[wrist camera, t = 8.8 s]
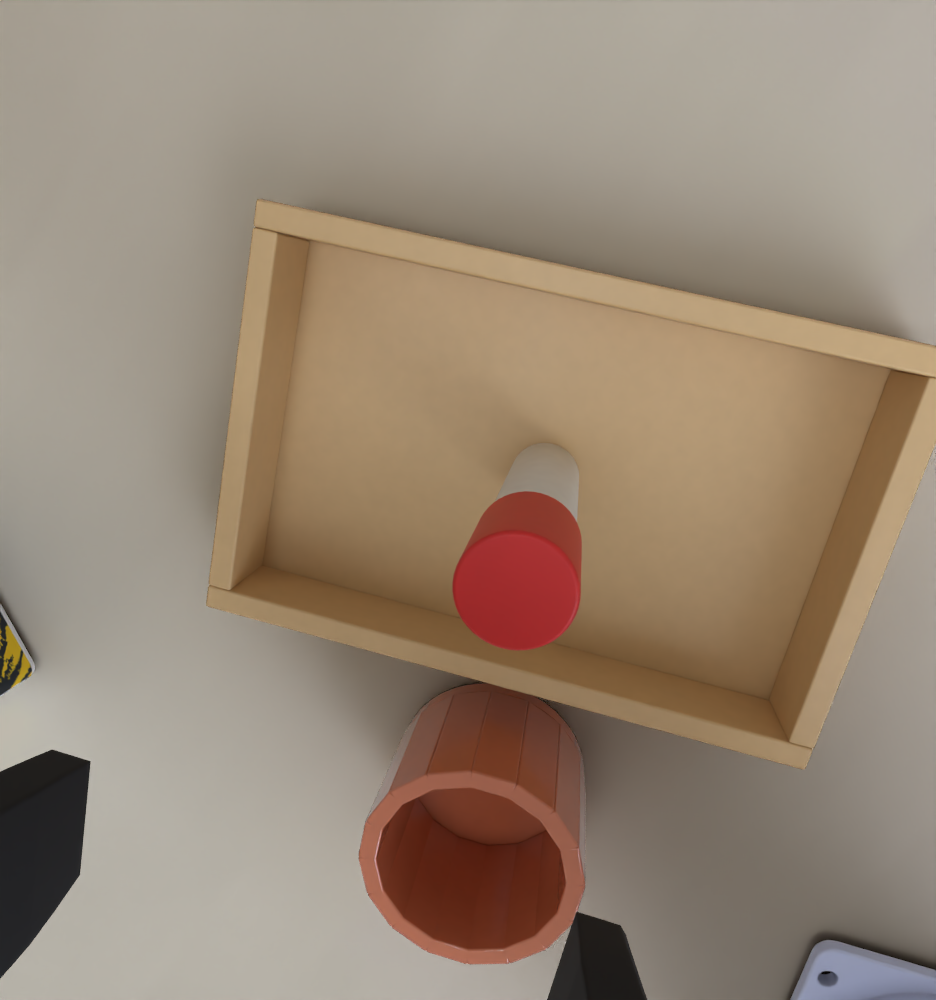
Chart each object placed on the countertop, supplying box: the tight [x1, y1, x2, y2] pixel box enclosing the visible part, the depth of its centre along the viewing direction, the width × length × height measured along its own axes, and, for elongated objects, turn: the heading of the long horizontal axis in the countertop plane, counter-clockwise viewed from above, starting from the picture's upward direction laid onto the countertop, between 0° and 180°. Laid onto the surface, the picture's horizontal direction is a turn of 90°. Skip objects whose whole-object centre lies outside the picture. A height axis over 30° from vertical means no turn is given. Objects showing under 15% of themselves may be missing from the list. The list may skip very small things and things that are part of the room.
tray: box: [206, 199, 936, 769], centre depth 18 cm, size 10×15×2 cm, turn 78°
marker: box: [452, 443, 582, 651], centre depth 15 cm, size 2×2×8 cm
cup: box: [359, 683, 586, 964], centre depth 19 cm, size 5×5×4 cm
